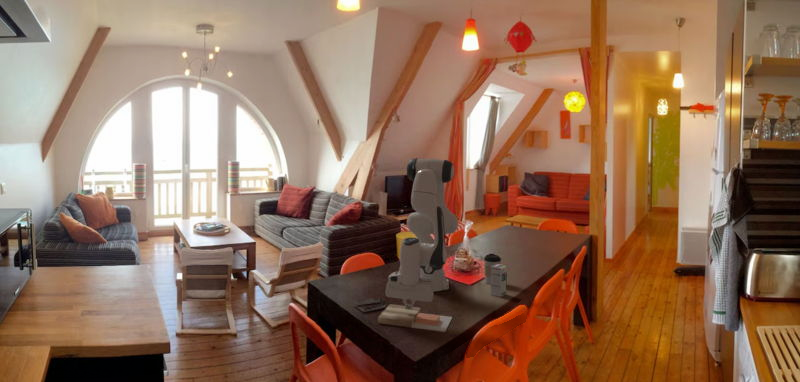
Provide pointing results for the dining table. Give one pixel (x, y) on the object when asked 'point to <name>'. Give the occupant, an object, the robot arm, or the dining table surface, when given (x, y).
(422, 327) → the mat
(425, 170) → the robot arm
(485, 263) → the coffee cup
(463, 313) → the dining table surface
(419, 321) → the pink flat block
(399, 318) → the beige square slab
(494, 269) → the syrup box
